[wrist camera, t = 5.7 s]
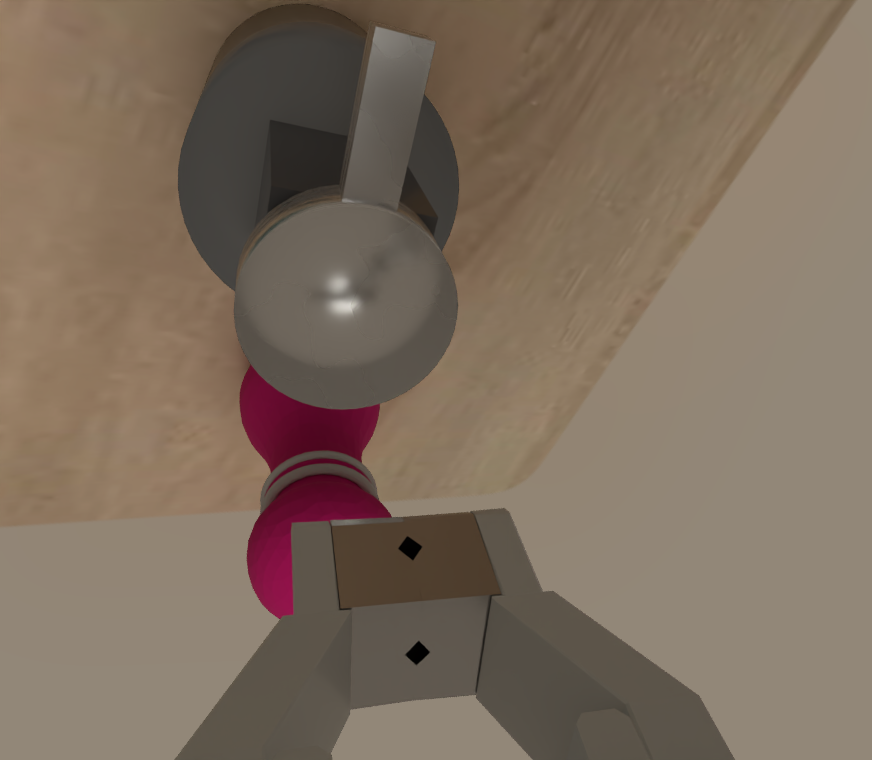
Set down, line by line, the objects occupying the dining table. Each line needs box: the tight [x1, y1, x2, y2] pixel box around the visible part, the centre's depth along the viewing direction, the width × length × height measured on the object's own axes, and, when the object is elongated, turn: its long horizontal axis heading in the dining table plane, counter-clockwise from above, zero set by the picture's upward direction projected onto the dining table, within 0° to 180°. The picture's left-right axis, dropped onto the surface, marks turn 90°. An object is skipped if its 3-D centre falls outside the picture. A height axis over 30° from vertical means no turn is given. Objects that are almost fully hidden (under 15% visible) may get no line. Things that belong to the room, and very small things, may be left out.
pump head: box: [234, 21, 458, 409], centre depth 20 cm, size 8×5×9 cm, turn 166°
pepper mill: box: [240, 365, 391, 619], centre depth 35 cm, size 7×7×20 cm
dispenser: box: [178, 4, 459, 291], centre depth 28 cm, size 9×9×21 cm
